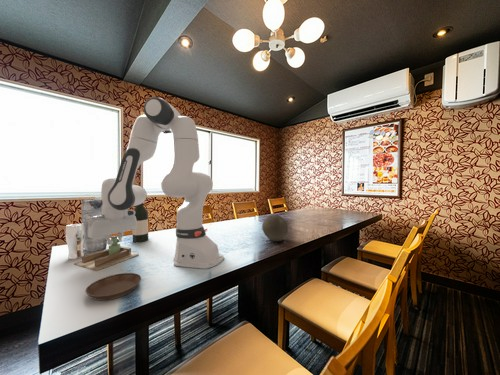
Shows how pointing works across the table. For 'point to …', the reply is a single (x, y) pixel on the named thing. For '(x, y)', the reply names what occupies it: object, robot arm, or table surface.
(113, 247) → the bottle
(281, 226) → the cantaloupe
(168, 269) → the table surface
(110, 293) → the saucer
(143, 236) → the wine bottle
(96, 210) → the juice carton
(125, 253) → the cradle
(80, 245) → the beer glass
